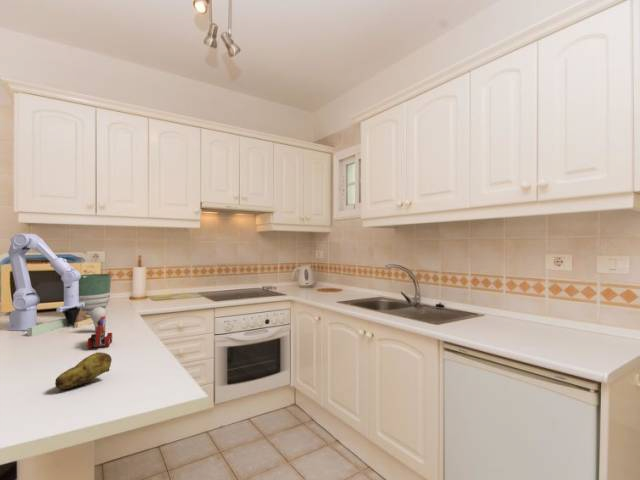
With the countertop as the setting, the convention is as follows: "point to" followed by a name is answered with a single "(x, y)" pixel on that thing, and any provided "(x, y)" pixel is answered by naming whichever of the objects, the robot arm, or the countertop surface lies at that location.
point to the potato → (84, 371)
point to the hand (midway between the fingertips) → (71, 324)
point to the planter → (94, 291)
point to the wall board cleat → (56, 325)
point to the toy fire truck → (100, 335)
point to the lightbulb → (97, 315)
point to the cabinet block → (80, 316)
